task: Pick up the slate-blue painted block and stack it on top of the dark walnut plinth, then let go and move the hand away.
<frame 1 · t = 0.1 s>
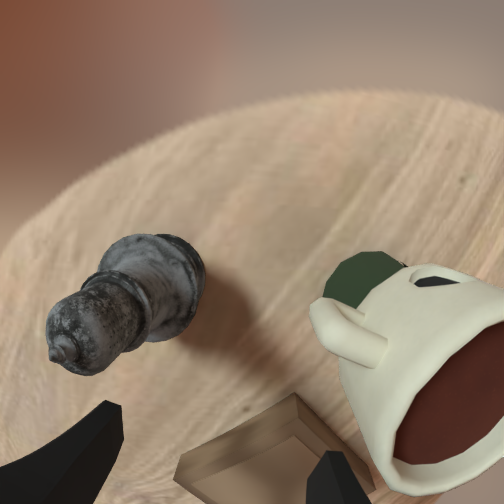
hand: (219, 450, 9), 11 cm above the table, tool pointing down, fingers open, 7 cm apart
walnut plinth: (277, 467, 21), on the table
character mug: (365, 298, 19), on the table
salt shaker: (164, 275, 20), on the table
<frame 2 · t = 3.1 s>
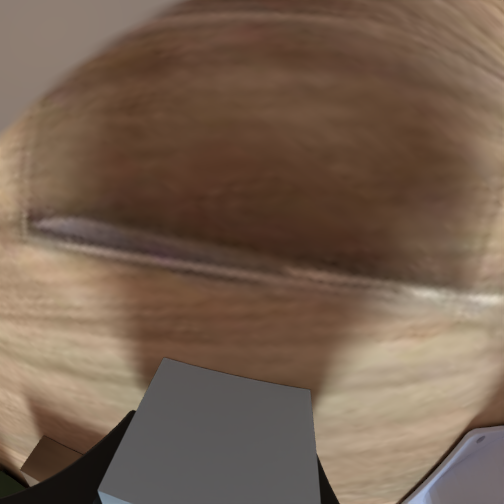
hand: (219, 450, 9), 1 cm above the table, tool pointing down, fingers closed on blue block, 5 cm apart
blue block: (224, 423, 11), on the table, touching gripper
character mug: (15, 479, 17), on the table
when the fingers open (5 cm above the table, at t = 6.3 s): blue block stays where it is, resting on walnut plinth.
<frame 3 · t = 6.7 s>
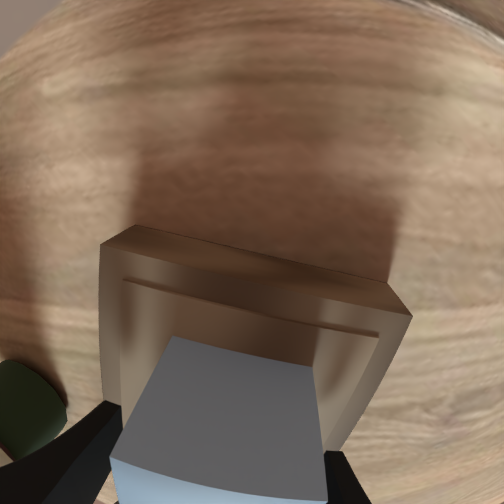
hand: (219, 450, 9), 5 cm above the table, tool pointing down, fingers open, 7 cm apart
blue block: (229, 402, 11), point 3 cm above the table, touching walnut plinth
walnut plinth: (236, 362, 15), on the table
character mug: (37, 388, 17), on the table
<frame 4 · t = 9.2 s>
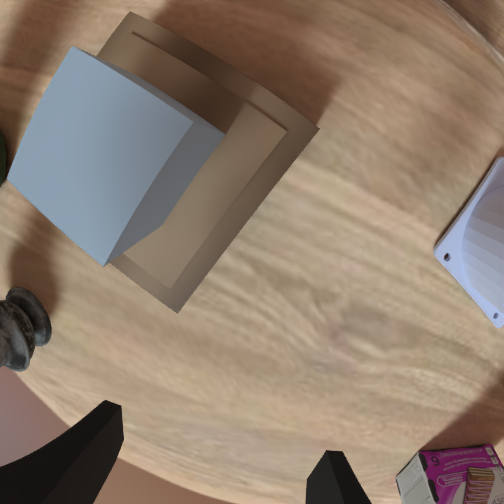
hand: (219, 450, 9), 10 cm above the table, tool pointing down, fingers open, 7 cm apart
blue block: (148, 149, 13), point 3 cm above the table, touching walnut plinth
walnut plinth: (166, 155, 16), on the table
candy bar box: (445, 458, 23), on the table
salt shaker: (28, 316, 21), on the table
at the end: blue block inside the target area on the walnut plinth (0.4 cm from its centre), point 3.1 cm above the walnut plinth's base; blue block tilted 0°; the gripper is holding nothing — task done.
